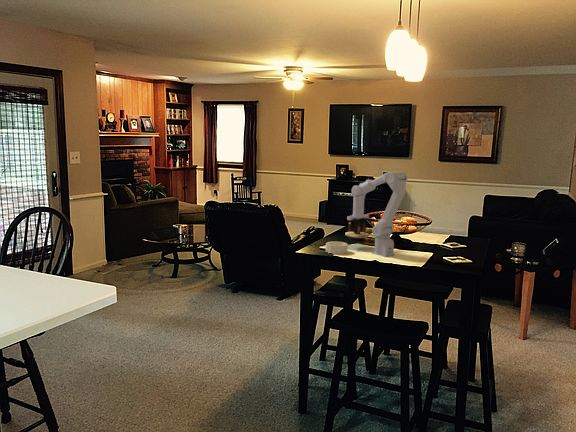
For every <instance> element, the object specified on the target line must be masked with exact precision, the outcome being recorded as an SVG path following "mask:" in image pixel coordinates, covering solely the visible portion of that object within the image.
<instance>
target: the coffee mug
mask: <svg viewBox="0 0 576 432" xmlns="http://www.w3.org/2000/svg"><path fill="white" fill-rule="evenodd" d="M347 224H348V232H353V228H352V225H351V223H350V221H349V222H348V223H347ZM348 238H349V240H350V241H352V242H353V241H354V242H355V241H356V242H357V241H361V239H362V238H355V237H349V236H348Z"/></svg>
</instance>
